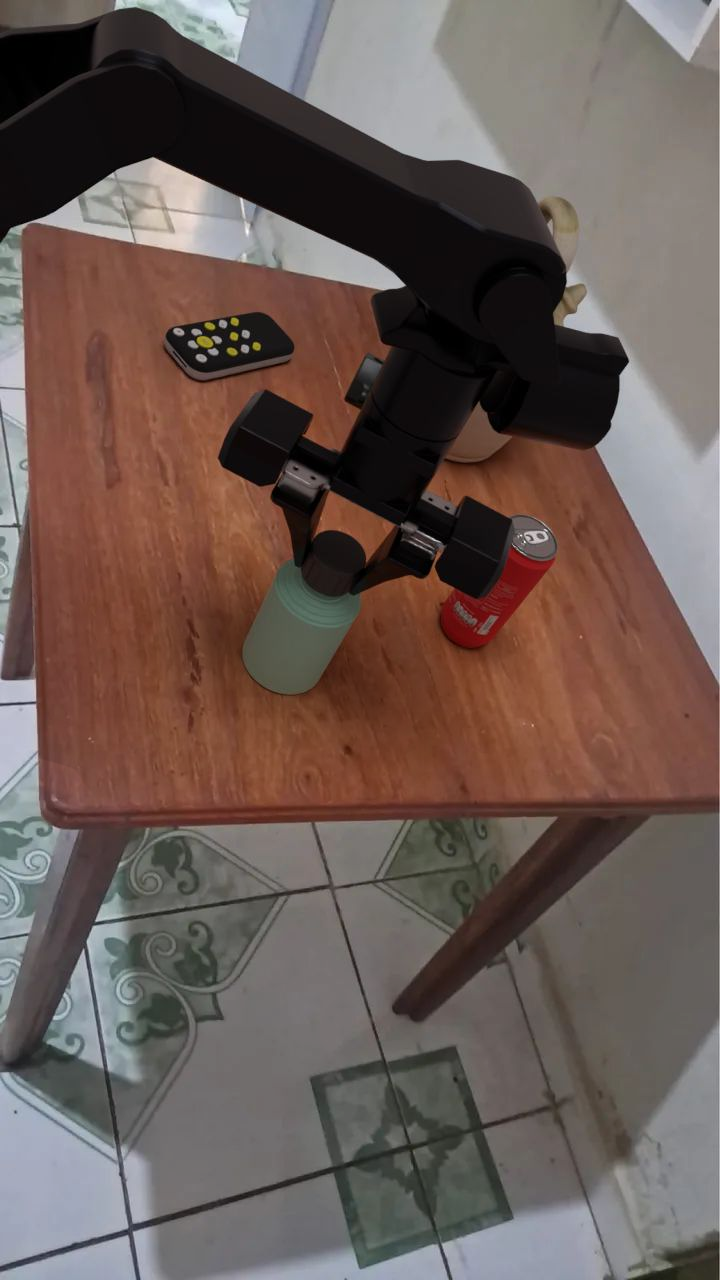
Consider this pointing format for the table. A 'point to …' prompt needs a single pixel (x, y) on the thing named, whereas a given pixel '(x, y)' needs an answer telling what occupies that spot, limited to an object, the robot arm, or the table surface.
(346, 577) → the cap
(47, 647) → the table surface
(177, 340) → the remote control
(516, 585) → the beverage can
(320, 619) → the bottle
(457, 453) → the jug
